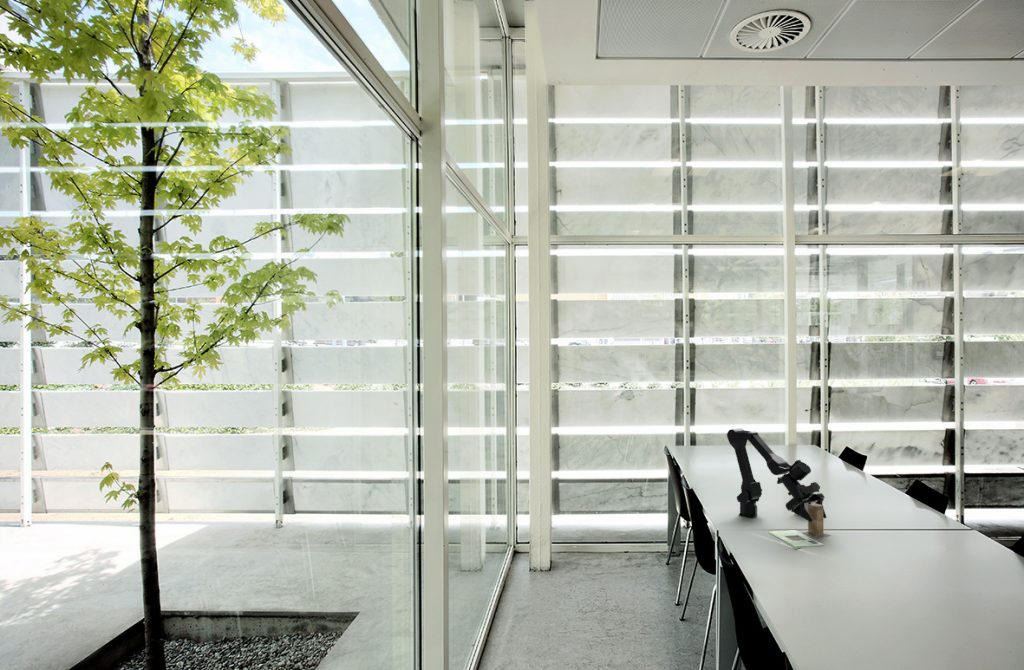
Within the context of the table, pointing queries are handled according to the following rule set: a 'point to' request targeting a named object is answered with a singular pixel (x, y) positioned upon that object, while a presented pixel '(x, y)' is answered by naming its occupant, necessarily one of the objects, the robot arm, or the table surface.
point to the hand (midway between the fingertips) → (818, 519)
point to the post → (815, 519)
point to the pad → (816, 536)
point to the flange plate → (795, 544)
